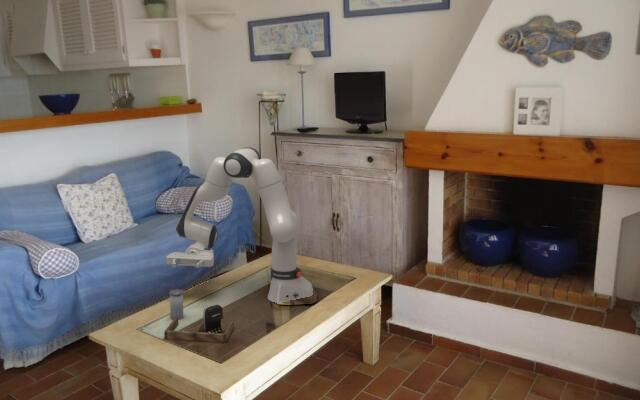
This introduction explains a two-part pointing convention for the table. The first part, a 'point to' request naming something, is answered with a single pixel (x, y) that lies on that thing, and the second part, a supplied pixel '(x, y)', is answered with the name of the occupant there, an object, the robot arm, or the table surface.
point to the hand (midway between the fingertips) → (185, 265)
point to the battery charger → (213, 318)
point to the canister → (176, 303)
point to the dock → (197, 333)
